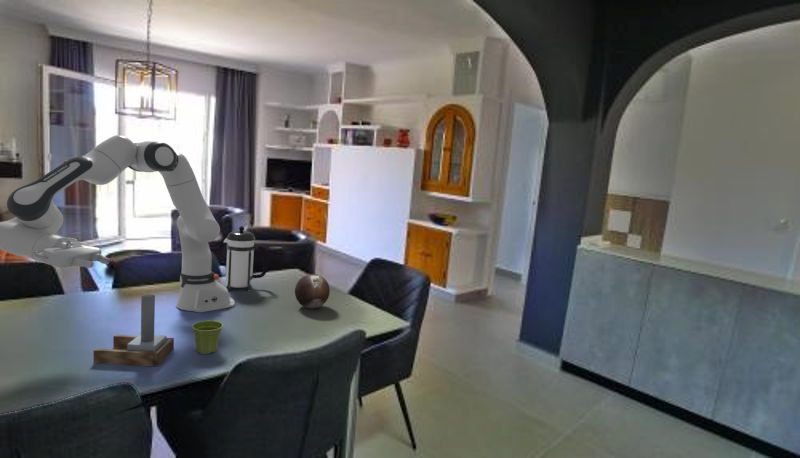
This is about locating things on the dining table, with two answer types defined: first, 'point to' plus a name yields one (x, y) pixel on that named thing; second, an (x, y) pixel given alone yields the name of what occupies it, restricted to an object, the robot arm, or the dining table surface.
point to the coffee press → (242, 259)
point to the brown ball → (312, 291)
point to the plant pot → (207, 335)
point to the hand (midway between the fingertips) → (100, 263)
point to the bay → (132, 353)
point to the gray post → (147, 328)
